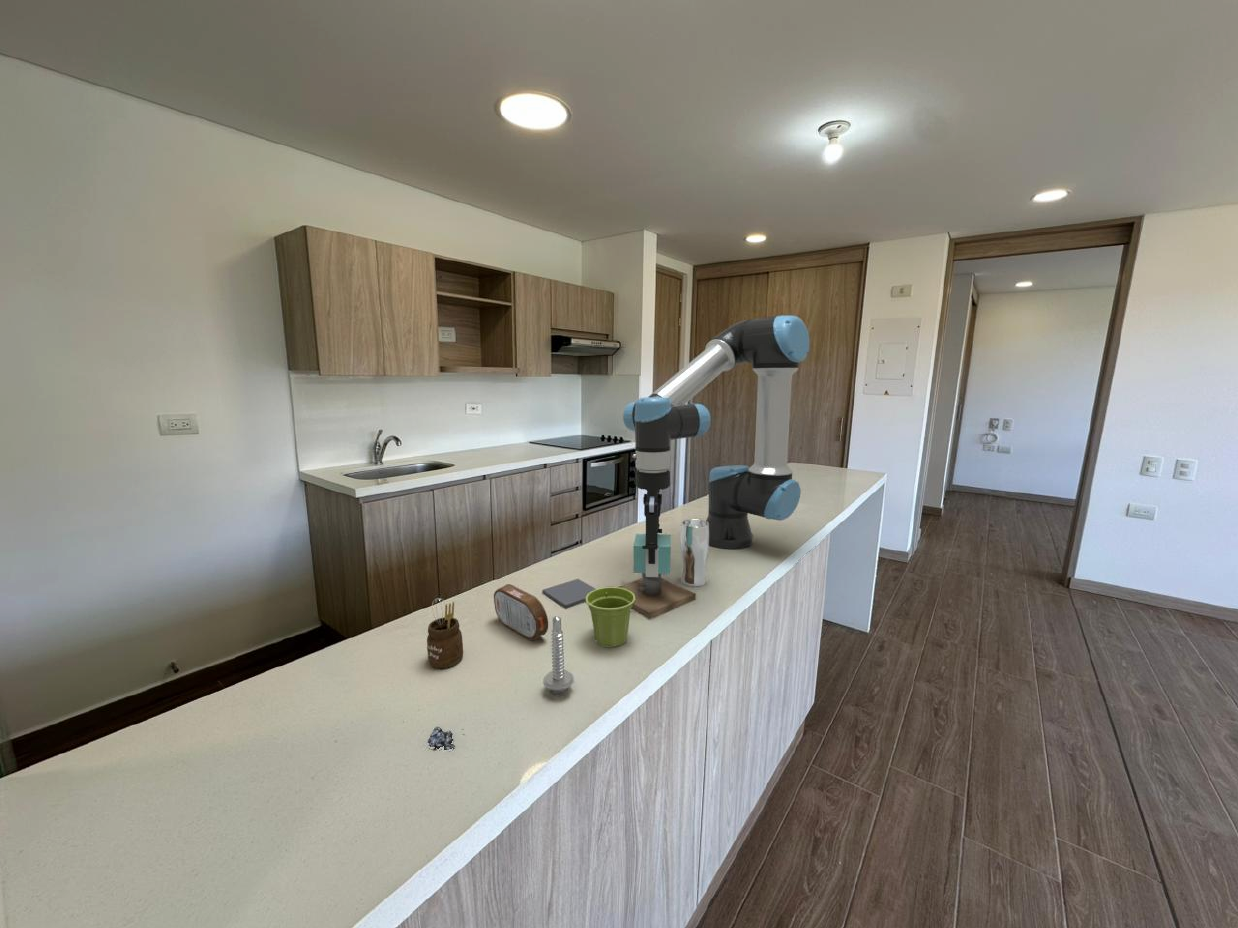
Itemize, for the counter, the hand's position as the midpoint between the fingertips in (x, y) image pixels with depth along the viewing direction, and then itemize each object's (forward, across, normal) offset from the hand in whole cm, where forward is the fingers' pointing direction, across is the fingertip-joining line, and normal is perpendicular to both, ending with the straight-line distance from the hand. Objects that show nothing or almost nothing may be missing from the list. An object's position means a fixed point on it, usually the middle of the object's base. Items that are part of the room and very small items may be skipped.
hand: (652, 568), depth 109 cm
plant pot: (+7, +19, -7) cm, 21 cm away
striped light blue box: (0, 0, 0) cm, 0 cm away
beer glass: (+7, -10, +10) cm, 16 cm away
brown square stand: (+7, 0, 0) cm, 7 cm away
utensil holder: (+7, +28, -36) cm, 46 cm away
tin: (+7, +17, -26) cm, 32 cm away
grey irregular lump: (+7, +47, -27) cm, 55 cm away
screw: (+7, +35, -14) cm, 38 cm away
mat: (+7, 0, -19) cm, 20 cm away
